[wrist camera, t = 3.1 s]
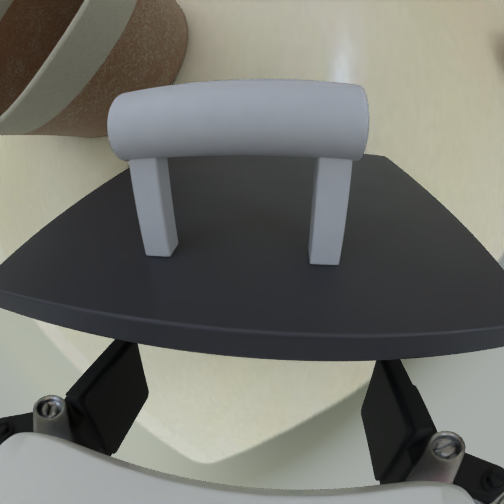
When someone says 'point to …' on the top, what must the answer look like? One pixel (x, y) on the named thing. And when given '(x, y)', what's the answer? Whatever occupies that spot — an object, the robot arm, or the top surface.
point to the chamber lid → (259, 236)
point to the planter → (82, 60)
